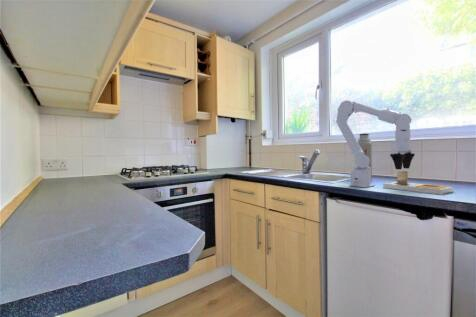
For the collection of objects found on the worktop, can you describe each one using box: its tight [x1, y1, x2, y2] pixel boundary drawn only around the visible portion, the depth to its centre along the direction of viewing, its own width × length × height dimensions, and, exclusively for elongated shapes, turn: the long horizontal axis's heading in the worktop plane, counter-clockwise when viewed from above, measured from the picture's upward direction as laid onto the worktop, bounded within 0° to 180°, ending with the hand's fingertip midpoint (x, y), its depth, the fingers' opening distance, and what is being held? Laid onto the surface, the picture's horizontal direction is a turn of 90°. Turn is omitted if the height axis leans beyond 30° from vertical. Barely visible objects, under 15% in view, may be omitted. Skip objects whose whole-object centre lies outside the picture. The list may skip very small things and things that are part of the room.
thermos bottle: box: [357, 133, 373, 180], centre depth 139 cm, size 8×8×28 cm
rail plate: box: [382, 181, 454, 196], centre depth 104 cm, size 12×22×2 cm, turn 31°
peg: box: [396, 170, 409, 185], centre depth 109 cm, size 4×4×8 cm
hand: (402, 168), depth 109 cm, fingers open, 7 cm apart
